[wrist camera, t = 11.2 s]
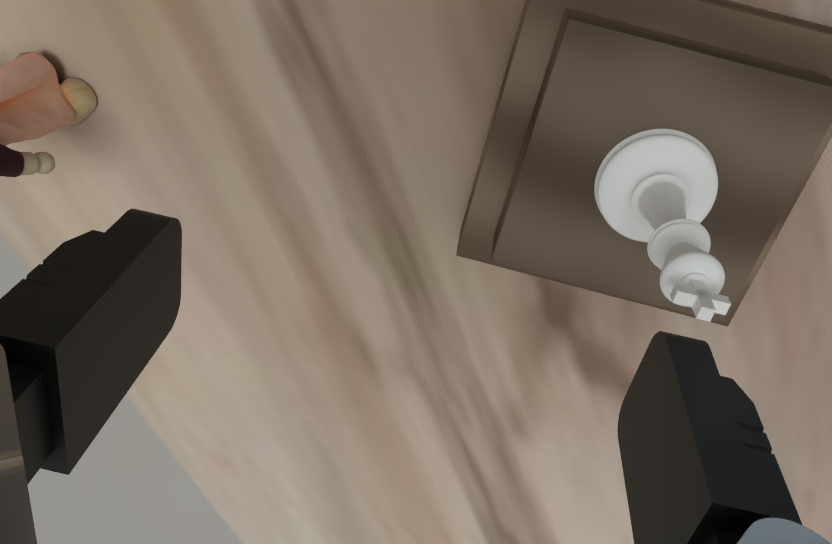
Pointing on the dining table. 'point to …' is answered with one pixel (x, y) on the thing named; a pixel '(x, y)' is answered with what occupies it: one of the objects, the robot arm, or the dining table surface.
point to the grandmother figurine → (36, 110)
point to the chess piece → (667, 212)
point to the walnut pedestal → (639, 111)
